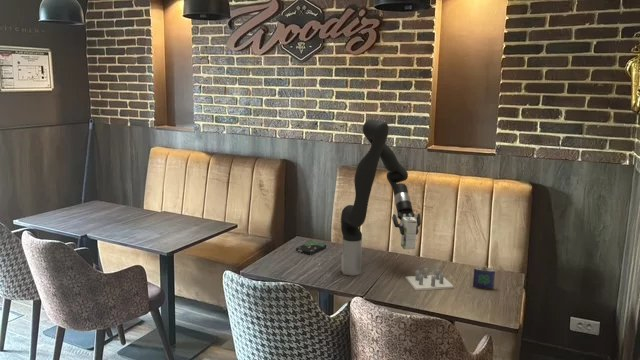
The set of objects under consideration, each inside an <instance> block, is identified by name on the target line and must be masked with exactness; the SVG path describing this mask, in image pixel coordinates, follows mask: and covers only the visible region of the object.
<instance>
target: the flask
mask: <svg viewBox="0 0 640 360" xmlns="http://www.w3.org/2000/svg"><path fill="white" fill-rule="evenodd" d="M487 267H488V265H484V266H483V267H480V266H478V267H474V269H473V282H472V287H473V288H475V289H480V290H491V291H492V290H494V288H495V278H496V270H495V269H489V268H487Z"/></svg>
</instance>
